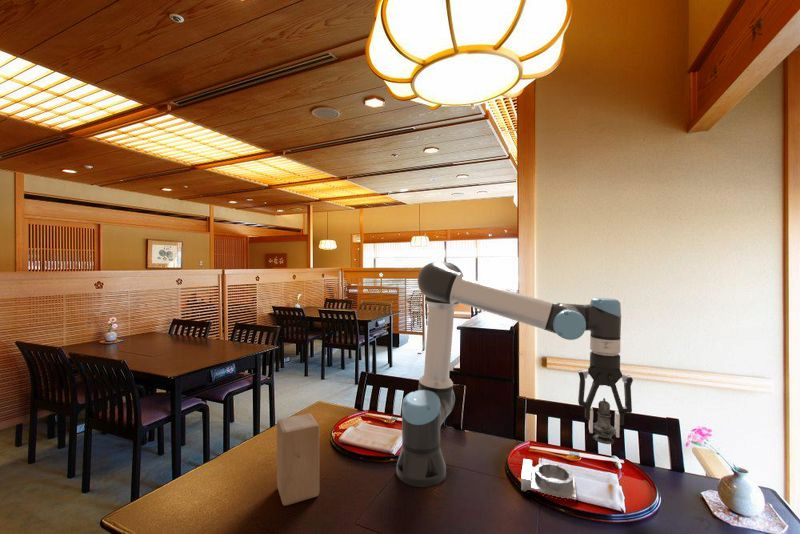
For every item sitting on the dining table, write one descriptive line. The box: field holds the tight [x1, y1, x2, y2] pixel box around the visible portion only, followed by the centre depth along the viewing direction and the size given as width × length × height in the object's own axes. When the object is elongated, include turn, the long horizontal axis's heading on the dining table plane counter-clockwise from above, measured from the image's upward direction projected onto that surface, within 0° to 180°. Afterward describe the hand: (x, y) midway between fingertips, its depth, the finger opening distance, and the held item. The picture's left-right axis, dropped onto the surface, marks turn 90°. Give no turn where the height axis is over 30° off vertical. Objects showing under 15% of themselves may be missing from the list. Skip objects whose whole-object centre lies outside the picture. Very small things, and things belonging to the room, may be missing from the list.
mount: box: [520, 458, 577, 499], centre depth 104 cm, size 14×11×4 cm
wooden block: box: [276, 413, 320, 506], centre depth 101 cm, size 10×10×20 cm
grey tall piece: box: [592, 397, 616, 445], centre depth 103 cm, size 6×6×12 cm
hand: (603, 432), depth 103 cm, fingers closed on grey tall piece, 6 cm apart
